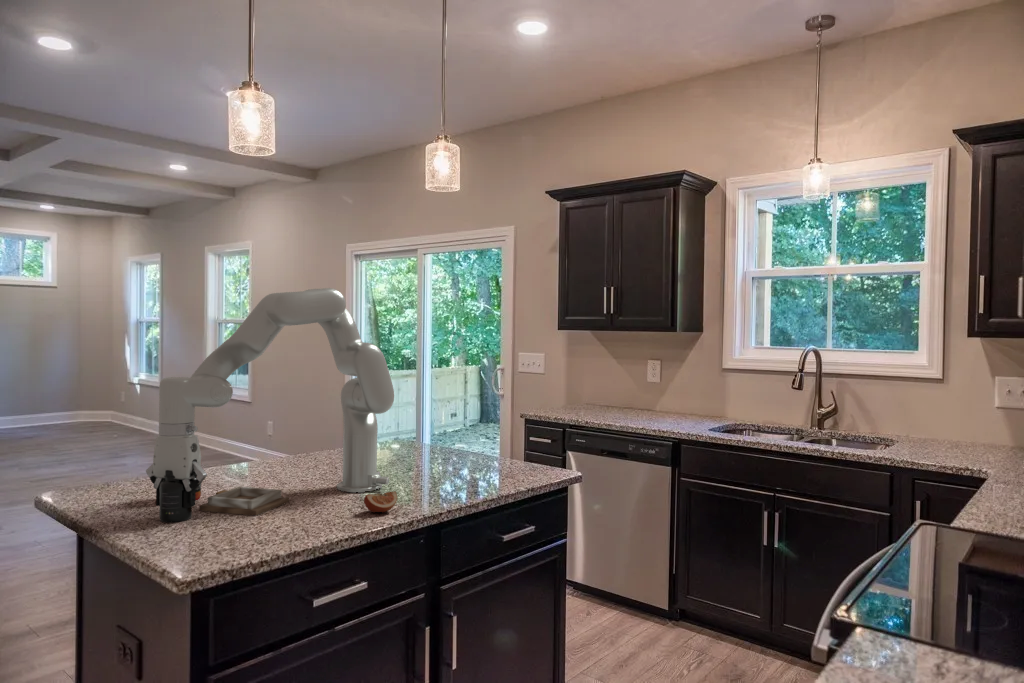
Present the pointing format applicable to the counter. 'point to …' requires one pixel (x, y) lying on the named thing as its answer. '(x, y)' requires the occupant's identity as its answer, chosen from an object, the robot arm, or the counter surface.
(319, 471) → the counter surface
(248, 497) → the pocket board
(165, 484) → the supplement bottle
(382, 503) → the fruit slice
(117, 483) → the counter surface
